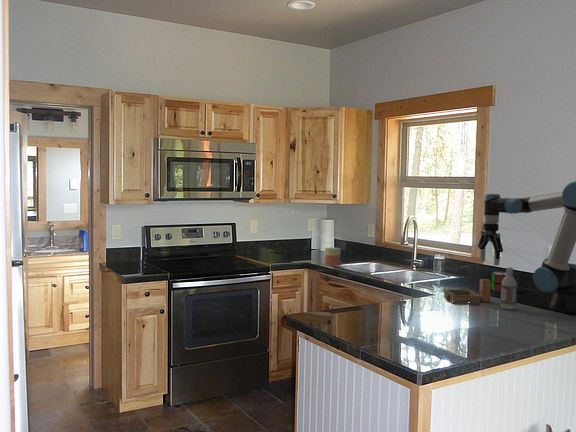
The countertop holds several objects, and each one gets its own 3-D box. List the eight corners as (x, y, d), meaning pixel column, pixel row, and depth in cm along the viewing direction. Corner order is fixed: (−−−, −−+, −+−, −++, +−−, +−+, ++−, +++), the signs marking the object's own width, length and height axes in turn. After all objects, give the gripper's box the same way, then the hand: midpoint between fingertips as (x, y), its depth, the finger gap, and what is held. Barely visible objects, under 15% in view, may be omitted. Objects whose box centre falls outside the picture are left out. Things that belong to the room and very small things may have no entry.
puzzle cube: (513, 293, 309) (513, 275, 308) (494, 292, 311) (494, 274, 310) (509, 289, 319) (510, 272, 318) (491, 288, 321) (492, 271, 320)
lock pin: (489, 301, 283) (490, 280, 283) (447, 301, 283) (448, 279, 282) (486, 299, 288) (487, 279, 287) (445, 299, 287) (446, 278, 287)
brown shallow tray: (479, 304, 278) (480, 295, 277) (453, 304, 277) (453, 295, 277) (469, 298, 293) (469, 289, 293) (443, 297, 293) (444, 289, 293)
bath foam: (497, 307, 273) (499, 266, 272) (509, 306, 275) (510, 266, 274) (506, 310, 266) (508, 269, 265) (518, 309, 268) (520, 268, 267)
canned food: (343, 264, 403) (343, 248, 402) (335, 266, 393) (336, 249, 392) (329, 263, 409) (329, 247, 408) (321, 265, 399) (322, 248, 398)
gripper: (511, 225, 279) (509, 266, 280) (484, 221, 303) (483, 259, 304) (497, 225, 277) (496, 267, 279) (472, 221, 302) (470, 259, 303)
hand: (489, 263), depth 292 cm, fingers open, 13 cm apart
